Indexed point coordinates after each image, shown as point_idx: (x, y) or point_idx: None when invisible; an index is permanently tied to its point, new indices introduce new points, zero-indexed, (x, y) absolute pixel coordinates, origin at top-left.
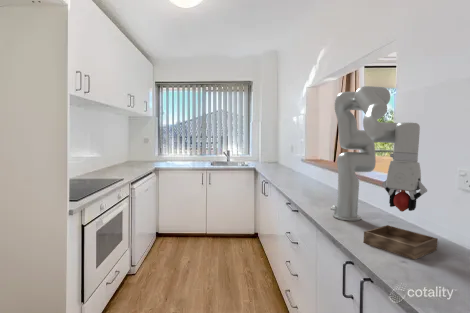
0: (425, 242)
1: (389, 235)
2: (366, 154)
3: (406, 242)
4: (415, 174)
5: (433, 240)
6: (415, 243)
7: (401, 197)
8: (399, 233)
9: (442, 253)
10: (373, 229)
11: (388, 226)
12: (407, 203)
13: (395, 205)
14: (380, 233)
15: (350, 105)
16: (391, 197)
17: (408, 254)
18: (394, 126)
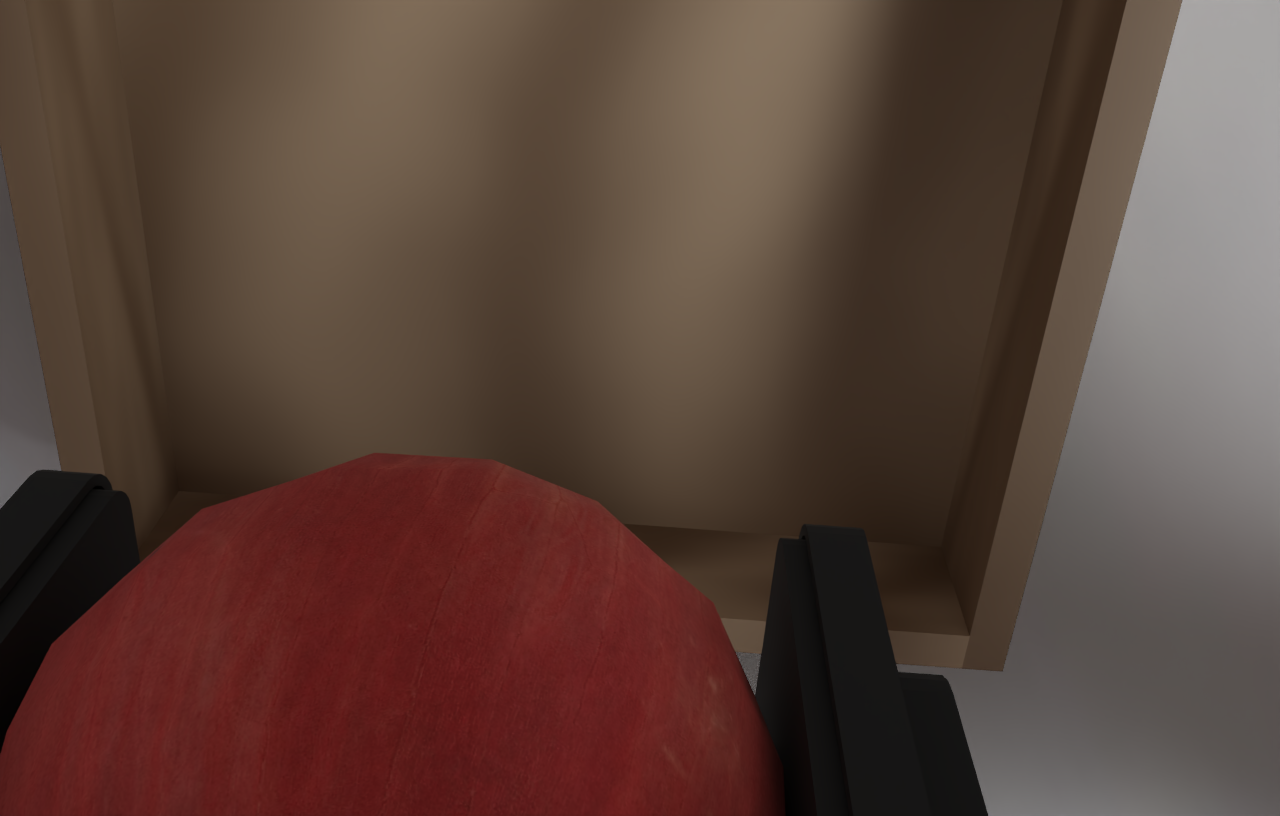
0: (24, 188)
1: (877, 465)
2: None
3: (516, 337)
4: None
5: (64, 460)
6: (405, 410)
7: (201, 777)
8: (736, 566)
9: (52, 423)
10: (1117, 141)
11: (965, 629)
12: (52, 645)
13: (594, 500)
14: (1002, 335)
15: None
16: (866, 807)
17: None
18: None
